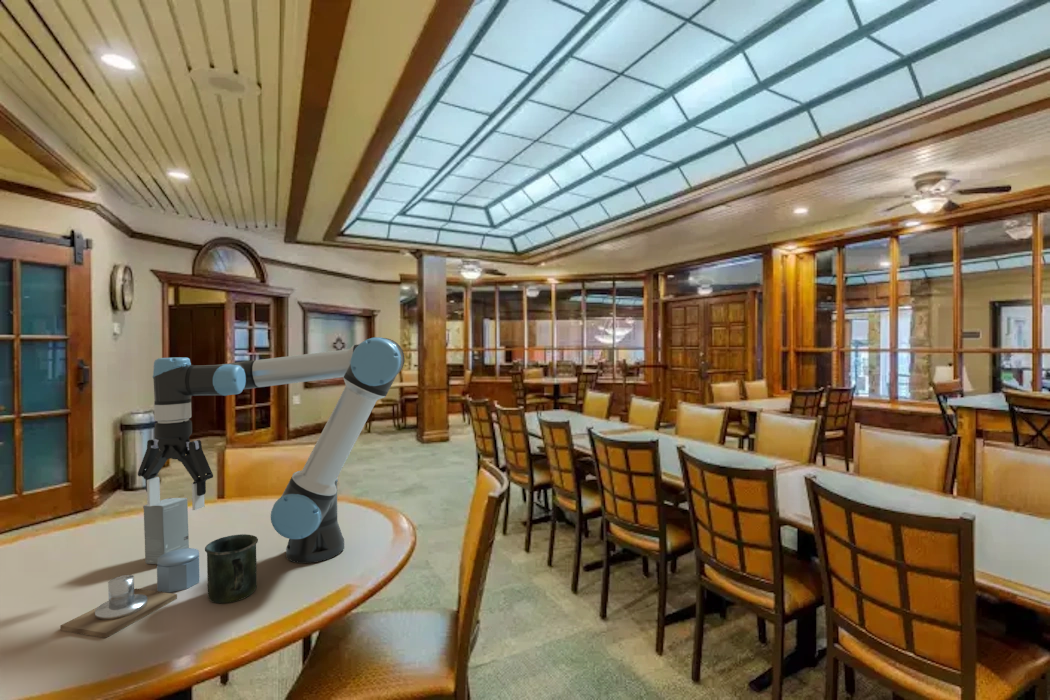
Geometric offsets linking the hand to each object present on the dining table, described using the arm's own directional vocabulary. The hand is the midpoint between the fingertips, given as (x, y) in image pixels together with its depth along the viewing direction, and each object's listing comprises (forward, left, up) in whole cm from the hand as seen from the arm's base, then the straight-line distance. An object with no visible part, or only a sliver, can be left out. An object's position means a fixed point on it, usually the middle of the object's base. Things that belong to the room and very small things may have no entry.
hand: (175, 506), depth 126 cm
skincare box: (+15, -10, -19) cm, 26 cm away
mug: (-19, +3, -19) cm, 27 cm away
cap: (-1, +1, -19) cm, 19 cm away
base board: (-1, +15, -19) cm, 24 cm away
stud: (-1, +15, -19) cm, 24 cm away
